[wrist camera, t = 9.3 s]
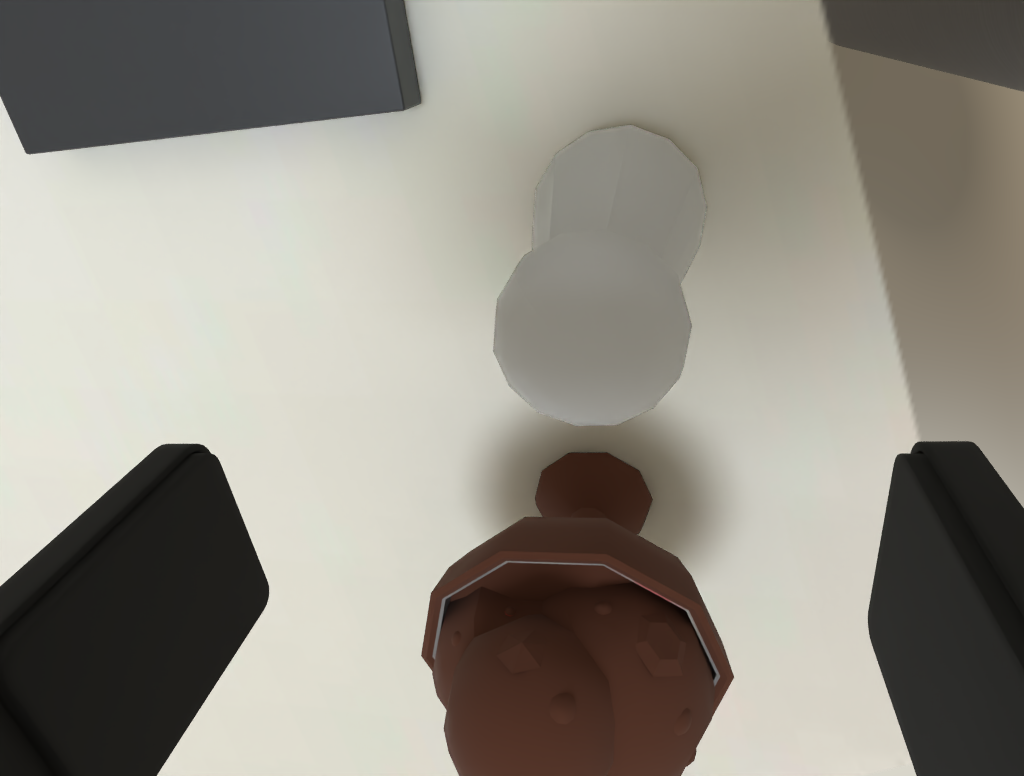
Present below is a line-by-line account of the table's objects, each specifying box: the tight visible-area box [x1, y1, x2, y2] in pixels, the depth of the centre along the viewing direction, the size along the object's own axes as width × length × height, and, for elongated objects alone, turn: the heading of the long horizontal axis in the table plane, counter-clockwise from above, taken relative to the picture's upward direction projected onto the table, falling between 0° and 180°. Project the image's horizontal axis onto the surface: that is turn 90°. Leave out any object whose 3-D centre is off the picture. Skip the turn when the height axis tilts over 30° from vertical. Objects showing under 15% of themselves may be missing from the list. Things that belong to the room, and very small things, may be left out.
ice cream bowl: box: [421, 453, 734, 776], centre depth 26 cm, size 11×11×15 cm
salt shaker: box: [493, 125, 707, 426], centre depth 19 cm, size 6×6×13 cm
